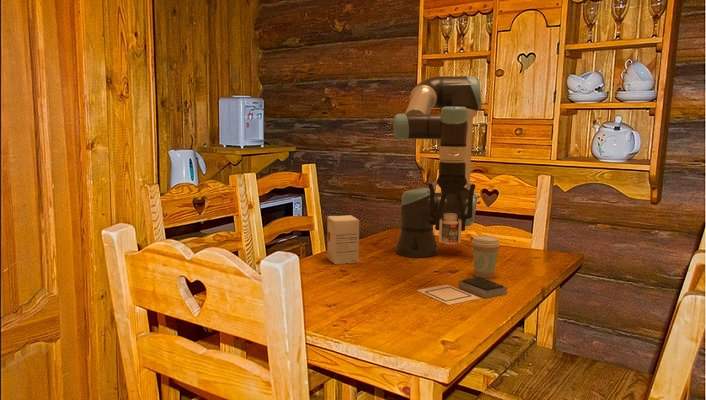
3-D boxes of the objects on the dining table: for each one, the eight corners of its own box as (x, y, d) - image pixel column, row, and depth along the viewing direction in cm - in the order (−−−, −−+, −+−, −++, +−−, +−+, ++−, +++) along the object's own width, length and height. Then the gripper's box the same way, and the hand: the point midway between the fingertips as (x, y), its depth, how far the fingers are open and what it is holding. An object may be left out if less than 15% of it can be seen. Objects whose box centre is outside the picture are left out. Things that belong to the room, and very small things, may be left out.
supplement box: (326, 258, 194) (326, 215, 191) (351, 256, 197) (351, 214, 194) (333, 265, 185) (334, 220, 183) (359, 263, 188) (359, 219, 186)
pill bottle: (450, 245, 159) (451, 216, 157) (437, 242, 162) (438, 214, 161) (461, 243, 162) (462, 214, 161) (448, 240, 165) (449, 212, 164)
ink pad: (458, 287, 162) (459, 279, 162) (479, 283, 166) (479, 276, 166) (485, 298, 153) (485, 290, 152) (506, 293, 157) (507, 286, 156)
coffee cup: (465, 273, 177) (466, 236, 175) (488, 270, 180) (489, 234, 178) (479, 280, 169) (481, 242, 167) (503, 278, 172) (505, 240, 170)
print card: (416, 290, 159) (416, 289, 159) (447, 285, 164) (447, 284, 164) (448, 305, 147) (448, 304, 147) (480, 298, 152) (480, 297, 152)
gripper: (421, 161, 156) (418, 243, 159) (485, 163, 154) (482, 245, 157) (421, 160, 163) (418, 237, 167) (482, 161, 161) (479, 240, 165)
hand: (449, 241), depth 162 cm, fingers closed on pill bottle, 5 cm apart
